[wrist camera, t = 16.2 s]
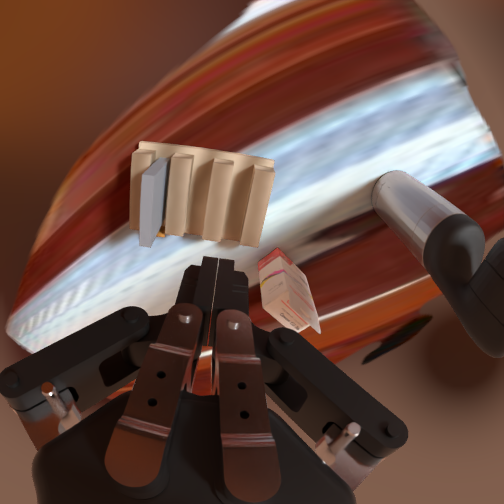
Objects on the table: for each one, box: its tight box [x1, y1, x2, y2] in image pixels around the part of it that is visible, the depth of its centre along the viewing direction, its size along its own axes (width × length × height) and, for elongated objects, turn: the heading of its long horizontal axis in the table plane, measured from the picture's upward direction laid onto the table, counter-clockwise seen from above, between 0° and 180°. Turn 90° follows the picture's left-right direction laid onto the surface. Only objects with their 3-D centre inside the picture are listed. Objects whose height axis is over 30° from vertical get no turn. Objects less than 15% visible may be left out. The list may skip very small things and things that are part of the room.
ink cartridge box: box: [258, 248, 321, 334], centre depth 47 cm, size 9×5×15 cm, turn 42°
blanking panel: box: [139, 157, 170, 248], centre depth 39 cm, size 2×10×9 cm, turn 169°
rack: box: [130, 141, 275, 248], centre depth 43 cm, size 20×14×4 cm
